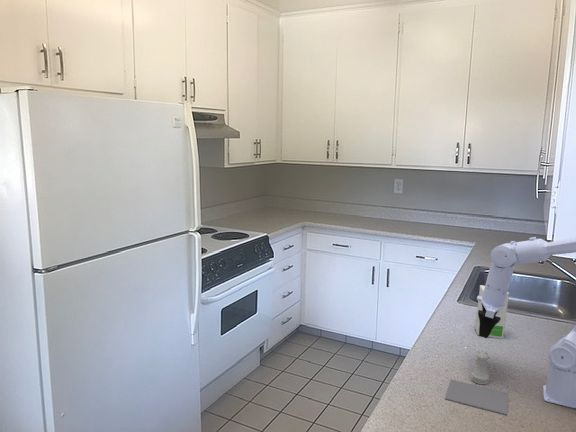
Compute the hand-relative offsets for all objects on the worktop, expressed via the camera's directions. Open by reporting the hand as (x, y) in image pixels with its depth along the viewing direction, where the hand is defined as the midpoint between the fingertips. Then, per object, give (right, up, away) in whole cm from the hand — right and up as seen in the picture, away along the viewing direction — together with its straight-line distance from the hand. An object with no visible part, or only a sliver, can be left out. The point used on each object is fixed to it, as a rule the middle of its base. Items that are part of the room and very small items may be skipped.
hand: (484, 331), depth 130 cm
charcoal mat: (-7, -13, -13) cm, 20 cm away
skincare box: (+12, -7, +26) cm, 30 cm away
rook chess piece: (-3, -12, -5) cm, 14 cm away
